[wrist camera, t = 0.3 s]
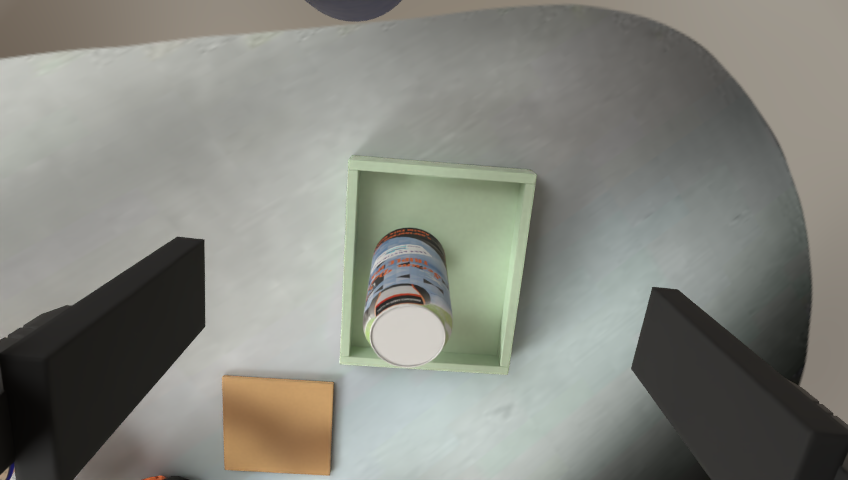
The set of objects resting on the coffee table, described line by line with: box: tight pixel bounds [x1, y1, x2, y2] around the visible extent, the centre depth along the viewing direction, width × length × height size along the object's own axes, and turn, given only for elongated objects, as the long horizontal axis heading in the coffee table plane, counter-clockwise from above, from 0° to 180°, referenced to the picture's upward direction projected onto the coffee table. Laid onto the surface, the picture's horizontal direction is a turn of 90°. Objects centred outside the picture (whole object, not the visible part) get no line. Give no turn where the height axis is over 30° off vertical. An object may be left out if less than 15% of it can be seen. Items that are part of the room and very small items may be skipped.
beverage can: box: [363, 227, 453, 368], centre depth 39 cm, size 6×7×12 cm
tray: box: [340, 155, 537, 375], centre depth 44 cm, size 18×15×2 cm
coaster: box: [222, 375, 334, 475], centre depth 49 cm, size 10×10×1 cm
